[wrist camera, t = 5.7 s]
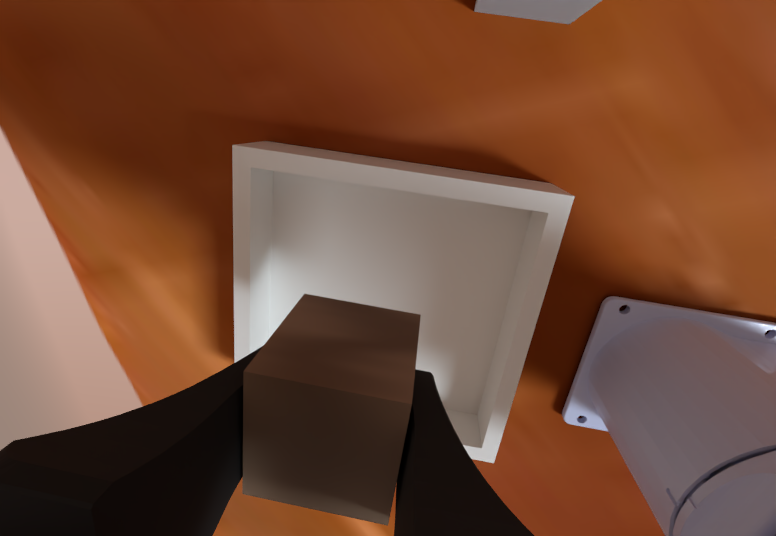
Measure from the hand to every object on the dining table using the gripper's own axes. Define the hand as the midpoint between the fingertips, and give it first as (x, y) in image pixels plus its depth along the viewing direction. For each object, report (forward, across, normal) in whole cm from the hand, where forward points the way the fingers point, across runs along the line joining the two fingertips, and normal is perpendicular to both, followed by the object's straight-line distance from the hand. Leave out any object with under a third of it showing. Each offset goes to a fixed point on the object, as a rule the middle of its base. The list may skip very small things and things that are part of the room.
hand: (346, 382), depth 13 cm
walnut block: (+2, 0, 0) cm, 2 cm away
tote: (+9, 0, +1) cm, 9 cm away
